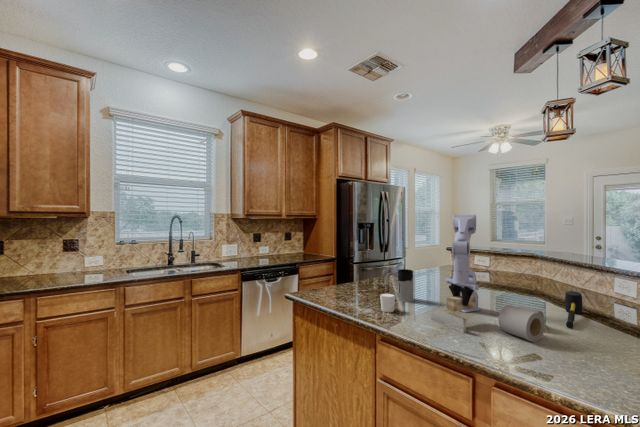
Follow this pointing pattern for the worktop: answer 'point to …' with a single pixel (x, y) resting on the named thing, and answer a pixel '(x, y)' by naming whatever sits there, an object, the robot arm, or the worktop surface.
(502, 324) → the toilet paper
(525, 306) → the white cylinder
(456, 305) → the maple rail
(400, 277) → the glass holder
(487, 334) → the worktop surface
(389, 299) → the shot glass
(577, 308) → the mallet
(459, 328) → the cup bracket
